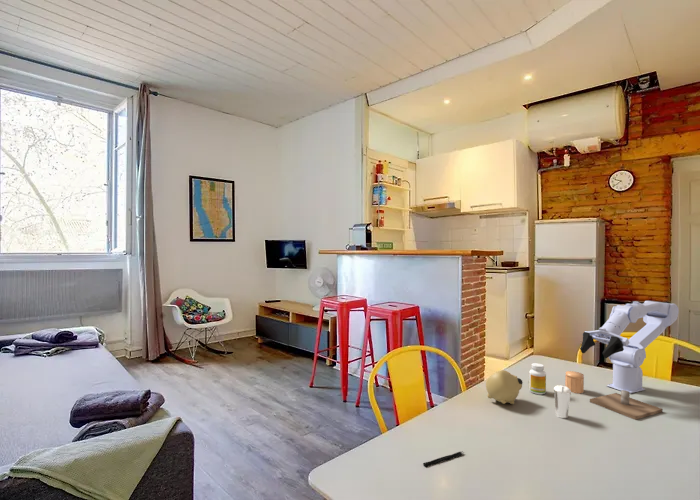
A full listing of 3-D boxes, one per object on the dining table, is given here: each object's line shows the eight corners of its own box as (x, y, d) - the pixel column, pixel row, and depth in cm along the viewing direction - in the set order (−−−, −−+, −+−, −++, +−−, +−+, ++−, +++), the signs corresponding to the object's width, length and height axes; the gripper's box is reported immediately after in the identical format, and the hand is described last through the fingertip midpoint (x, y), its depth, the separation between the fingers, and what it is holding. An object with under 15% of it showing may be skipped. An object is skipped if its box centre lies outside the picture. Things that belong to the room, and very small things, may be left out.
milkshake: (553, 418, 114) (554, 385, 114) (553, 411, 119) (553, 379, 118) (570, 421, 112) (571, 388, 112) (569, 414, 116) (570, 382, 116)
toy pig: (528, 403, 125) (528, 371, 125) (506, 411, 118) (506, 377, 118) (501, 393, 133) (502, 363, 133) (479, 400, 126) (480, 368, 126)
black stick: (462, 453, 94) (462, 449, 94) (464, 455, 93) (464, 451, 93) (422, 466, 89) (422, 462, 89) (425, 468, 88) (425, 464, 88)
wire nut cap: (572, 386, 140) (572, 370, 140) (586, 391, 135) (587, 375, 135) (561, 388, 138) (562, 372, 138) (576, 394, 133) (576, 377, 133)
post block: (615, 395, 132) (616, 381, 132) (662, 412, 119) (662, 396, 119) (589, 401, 126) (590, 387, 126) (635, 419, 114) (635, 403, 114)
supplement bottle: (548, 395, 132) (549, 367, 132) (533, 394, 132) (533, 367, 132) (541, 389, 137) (541, 362, 137) (526, 388, 137) (526, 362, 137)
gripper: (588, 317, 141) (568, 340, 135) (631, 322, 127) (610, 348, 122) (595, 332, 142) (575, 355, 137) (638, 339, 129) (618, 365, 124)
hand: (592, 353), depth 130 cm, fingers open, 7 cm apart
